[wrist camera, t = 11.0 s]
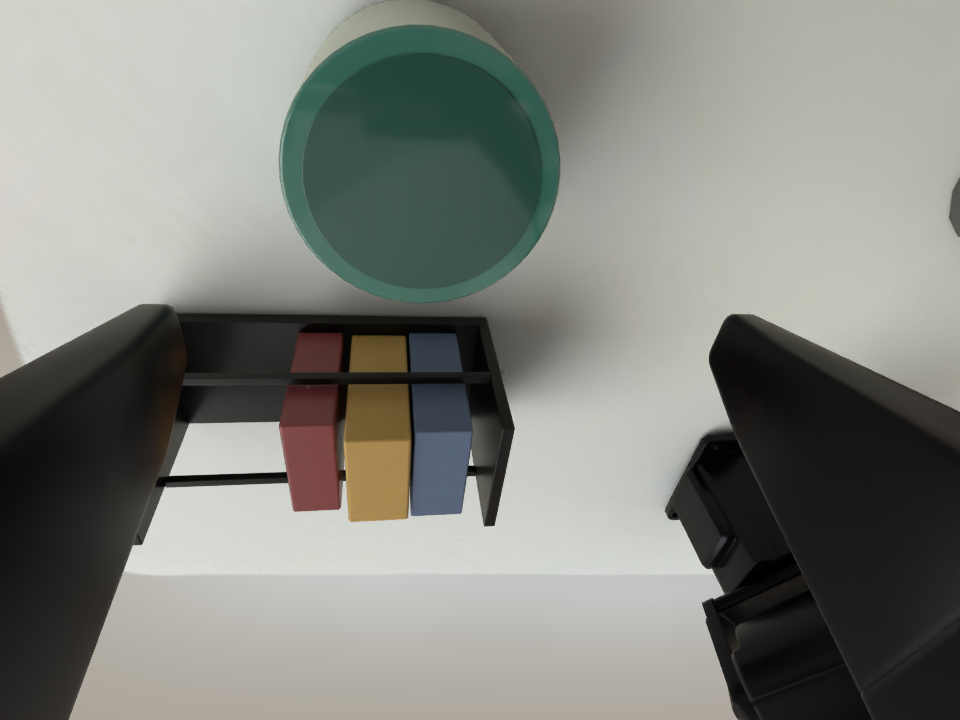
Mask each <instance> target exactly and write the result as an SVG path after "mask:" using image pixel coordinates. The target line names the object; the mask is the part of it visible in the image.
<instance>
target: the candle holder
mask: <svg viewBox="0 0 960 720" xmlns="http://www.w3.org/2000/svg"><path fill="white" fill-rule="evenodd" d="M949 219H950V221H951V223H952V225H953V227H954V229H955V231H956V233H957V235H958V236H959V237H960V179H959V181H958V183H957V184H956V186H955V188H954V190H953V195H952V202H951V209H950V216H949Z"/></svg>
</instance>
